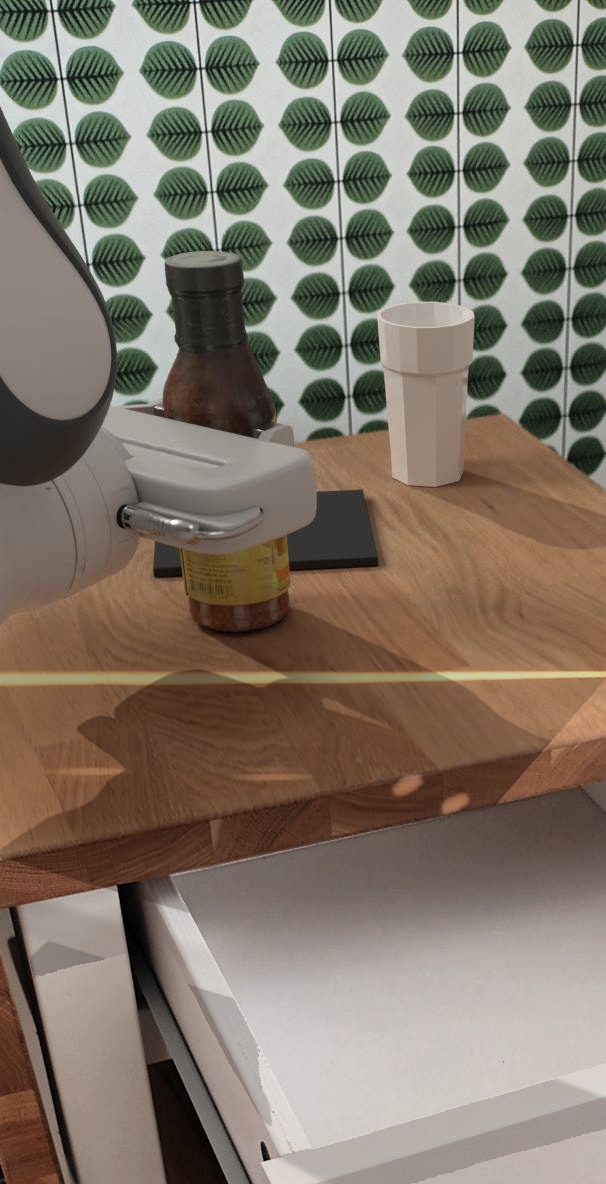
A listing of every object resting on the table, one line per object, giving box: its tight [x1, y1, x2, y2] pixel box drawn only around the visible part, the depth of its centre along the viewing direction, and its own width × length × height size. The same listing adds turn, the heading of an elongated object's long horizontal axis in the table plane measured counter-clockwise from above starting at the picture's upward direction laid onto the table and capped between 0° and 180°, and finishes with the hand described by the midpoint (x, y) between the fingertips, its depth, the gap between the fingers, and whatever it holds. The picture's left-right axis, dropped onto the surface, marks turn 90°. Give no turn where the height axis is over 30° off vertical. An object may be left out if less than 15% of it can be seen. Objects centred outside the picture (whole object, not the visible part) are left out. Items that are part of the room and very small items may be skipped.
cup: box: [376, 301, 476, 488], centre depth 109 cm, size 7×7×11 cm
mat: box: [152, 489, 379, 578], centre depth 102 cm, size 14×12×1 cm
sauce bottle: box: [161, 250, 291, 633], centre depth 87 cm, size 7×6×20 cm
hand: (229, 425), depth 87 cm, fingers closed on sauce bottle, 6 cm apart
